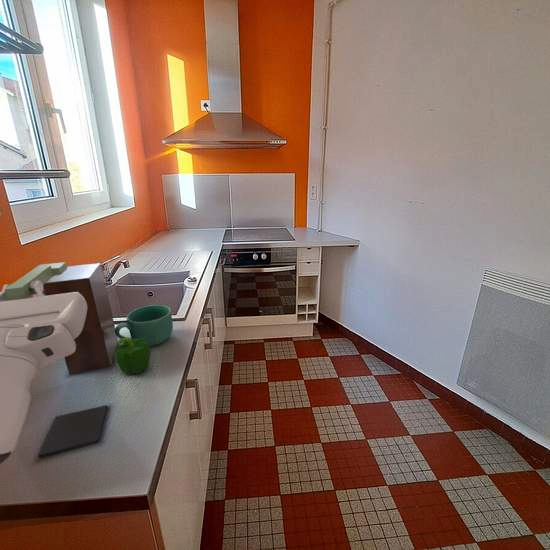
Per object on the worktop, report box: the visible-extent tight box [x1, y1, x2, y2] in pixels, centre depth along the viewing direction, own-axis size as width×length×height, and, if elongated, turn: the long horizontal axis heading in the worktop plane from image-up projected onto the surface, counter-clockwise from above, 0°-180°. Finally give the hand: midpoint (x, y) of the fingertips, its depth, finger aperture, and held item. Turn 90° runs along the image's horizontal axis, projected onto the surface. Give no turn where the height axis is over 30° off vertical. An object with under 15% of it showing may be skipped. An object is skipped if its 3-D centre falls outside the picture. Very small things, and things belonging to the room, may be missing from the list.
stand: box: [43, 262, 119, 375], centre depth 84 cm, size 10×14×26 cm
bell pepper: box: [114, 337, 151, 375], centre depth 80 cm, size 8×8×10 cm
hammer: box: [5, 261, 68, 301], centre depth 59 cm, size 19×5×2 cm, turn 19°
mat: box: [37, 404, 108, 458], centre depth 62 cm, size 10×10×1 cm
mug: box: [115, 304, 174, 347], centre depth 93 cm, size 17×13×10 cm
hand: (24, 284), depth 54 cm, fingers closed on hammer, 2 cm apart
